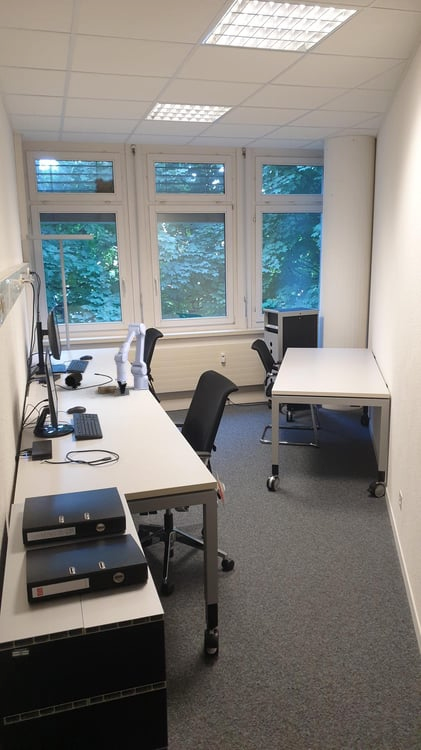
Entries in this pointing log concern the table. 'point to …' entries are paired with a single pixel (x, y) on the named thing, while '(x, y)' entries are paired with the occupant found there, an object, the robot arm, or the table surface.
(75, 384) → the security camera
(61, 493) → the table surface
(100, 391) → the stand
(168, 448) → the table surface
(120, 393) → the housing
